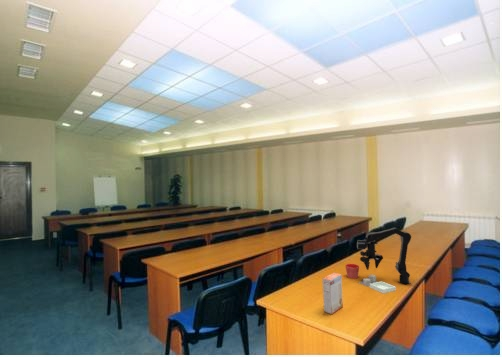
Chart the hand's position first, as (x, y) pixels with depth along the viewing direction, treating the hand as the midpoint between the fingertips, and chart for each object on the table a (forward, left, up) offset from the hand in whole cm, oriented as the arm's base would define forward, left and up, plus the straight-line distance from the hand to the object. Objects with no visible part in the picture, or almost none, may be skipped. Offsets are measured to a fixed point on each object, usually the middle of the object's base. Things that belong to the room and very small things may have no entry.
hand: (372, 269), depth 211 cm
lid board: (+5, +1, -10) cm, 11 cm away
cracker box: (+58, +23, -10) cm, 63 cm away
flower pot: (+7, -15, -10) cm, 19 cm away
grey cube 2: (+10, +4, -10) cm, 14 cm away
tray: (+6, +14, -10) cm, 18 cm away
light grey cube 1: (0, 0, -10) cm, 10 cm away
